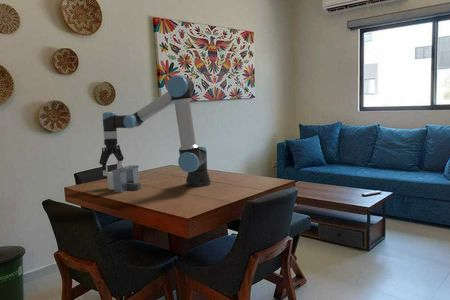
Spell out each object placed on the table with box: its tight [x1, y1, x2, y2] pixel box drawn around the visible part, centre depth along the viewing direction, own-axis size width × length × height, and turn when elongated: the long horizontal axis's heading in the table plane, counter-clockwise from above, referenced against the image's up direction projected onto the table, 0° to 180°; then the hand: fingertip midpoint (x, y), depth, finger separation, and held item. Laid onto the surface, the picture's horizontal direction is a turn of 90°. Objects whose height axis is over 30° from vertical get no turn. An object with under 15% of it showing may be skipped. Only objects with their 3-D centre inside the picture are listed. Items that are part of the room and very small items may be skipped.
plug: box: [106, 170, 142, 191], centre depth 224 cm, size 20×5×10 cm, turn 70°
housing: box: [111, 164, 140, 194], centre depth 223 cm, size 6×18×13 cm, turn 160°
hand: (112, 173), depth 226 cm, fingers open, 13 cm apart
